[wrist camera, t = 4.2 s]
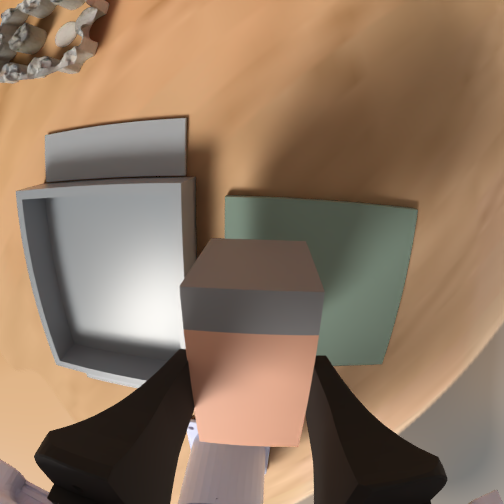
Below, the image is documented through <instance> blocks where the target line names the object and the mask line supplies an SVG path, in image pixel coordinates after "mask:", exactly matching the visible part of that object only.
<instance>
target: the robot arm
mask: <svg viewBox="0 0 504 504" xmlns="http://www.w3.org/2000/svg"><path fill="white" fill-rule="evenodd" d="M194 408H195V407H194V400H193V393H192V386H191V379H190V371H189V364H188V361H187V355H186V349H179V350H178V351H177V352H176V353H175V354H174V355H173V356H172V357H171V358H170V359H169V360H168V361H167V362H166V363H165V364H164V365H163V366H162V367H161V368H160V369H159V370H158V371H157V372H156V373H155V374H154V375H153V376H152V377H151V378H149V379H148V380H147V381H146V382H145V383H144V384H142V385H141V386H140V387H139V388H138V389H136V390H135V391H134V392H133V393H131V394H130V395H129V396H127V397H126V398H124V399H123V400H121V401H120V402H118V403H117V404H115V405H114V406H112V407H110V408H108V409H106V410H104V411H103V412H101V413H99V414H97V415H95V416H93V417H91V418H88V419H86V420H84V421H81V422H78V423H76V424H73V425H70V426H67V427H63V428H60V429H56V430H53V431H50V432H49V433H48V434H47V436H46V437H45V439H44V440H43V442H42V444H41V445H40V447H39V449H38V450H37V452H36V453H35V456H34V458H35V461H36V463H37V464H38V466H39V467H40V468H41V470H42V471H43V472H44V473H45V474H46V475H47V477H48V478H49V479H50V480H51V481H52V482H53V483H54V485H53V487H52V489H51V491H50V493H49V492H47V491H45V490H43V489H41V488H40V487H38V486H35V485H34V484H32V483H30V482H28V481H27V480H26V479H25V478H24V476H23V475H21V473H20V472H19V471H17V470H16V469H15V468H13V467H12V466H10V465H9V464H7V463H6V462H4V461H2V460H1V459H0V504H170V501H171V494H172V488H173V482H174V477H175V472H176V467H177V462H178V457H179V453H180V450H181V446H182V443H183V441H184V438H185V435H186V432H187V434H188V439H189V444H190V448H191V452H190V456H189V460H188V464H187V468H186V472H185V476H184V480H183V484H182V489H181V493H180V497H179V501H178V504H263V495H264V474H266V472H267V465H268V458H269V451H270V447H265V446H243V445H230V444H218V443H209V442H200V441H199V435H198V429H197V424H196V420H194V419H191V417H192V414H193V411H194ZM306 420H307V426H308V432H309V438H310V444H311V450H312V457H313V468H314V504H431V501H430V500H431V499H432V498H433V497H434V496H435V495H436V494H437V493H438V492H439V491H440V490H441V489H442V488H443V487H444V486H445V484H446V482H447V476H446V474H445V471H444V468H443V465H442V464H441V462H440V460H439V458H438V457H437V456H435V455H432V454H430V453H428V452H426V451H424V450H422V449H420V448H418V447H416V446H414V445H413V444H411V443H409V442H408V441H406V440H404V439H403V438H401V437H400V436H398V435H397V434H396V433H394V432H393V431H392V430H390V429H389V428H387V427H386V426H385V425H384V424H382V423H381V422H380V421H379V420H378V419H377V418H376V417H374V416H373V415H372V414H371V413H370V412H369V411H368V410H367V409H366V408H365V407H364V406H363V404H362V403H361V402H360V401H359V400H358V399H357V398H356V397H355V395H354V394H353V393H352V392H351V390H350V389H349V388H348V386H347V385H346V384H345V383H344V381H343V380H342V379H341V377H340V376H339V374H338V373H337V371H336V370H335V368H334V367H333V365H332V364H331V362H330V361H329V359H328V357H327V356H326V355H316V358H315V364H314V370H313V375H312V381H311V387H310V392H309V398H308V403H307V408H306ZM468 504H503V502H502V500H501V497H500V495H499V492H498V490H494V491H492V492H490V493H488V494H485V495H483V496H481V497H479V498H477V499H475V500H473V501H471V502H470V503H468Z"/></svg>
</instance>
